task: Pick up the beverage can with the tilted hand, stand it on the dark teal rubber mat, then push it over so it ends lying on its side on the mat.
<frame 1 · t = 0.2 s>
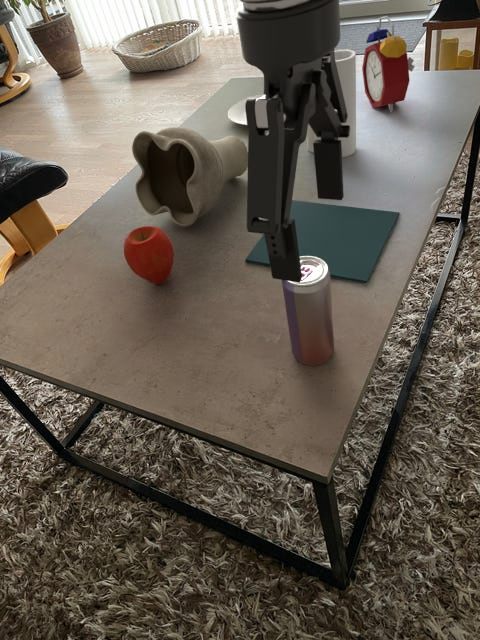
hand: (310, 234, 50), 24 cm above the table, tool pointing down, fingers open, 13 cm apart
plate: (267, 116, 131), on the table
beverage can: (313, 352, 70), on the table
alarm clock: (388, 104, 124), on the table
apple: (159, 281, 88), on the table
vase 2: (330, 151, 111), on the table
mat: (323, 238, 88), on the table
vase: (213, 199, 105), on the table
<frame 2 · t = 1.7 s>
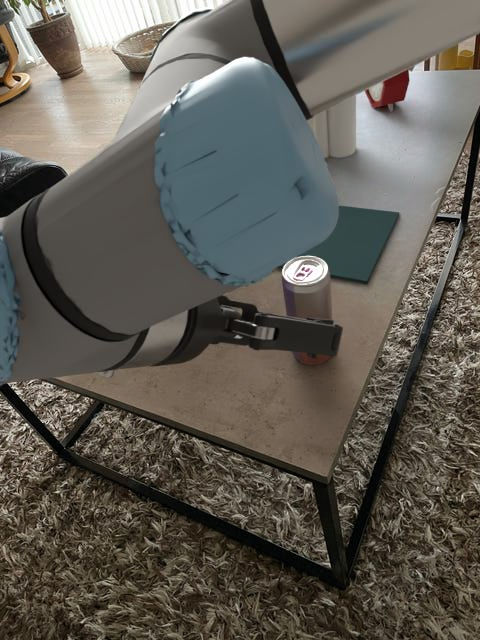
hand: (267, 318, 52), 17 cm above the table, tool tilted 45°, fingers open, 13 cm apart
nothing on the table moved.
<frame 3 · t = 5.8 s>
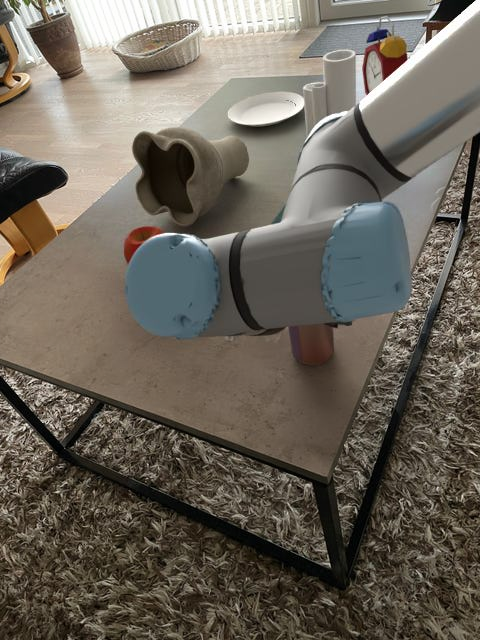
hand: (319, 307, 68), 5 cm above the table, tool tilted 45°, fingers closed on beverage can, 6 cm apart
beverage can: (313, 352, 70), on the table, touching gripper
everything else where it was.
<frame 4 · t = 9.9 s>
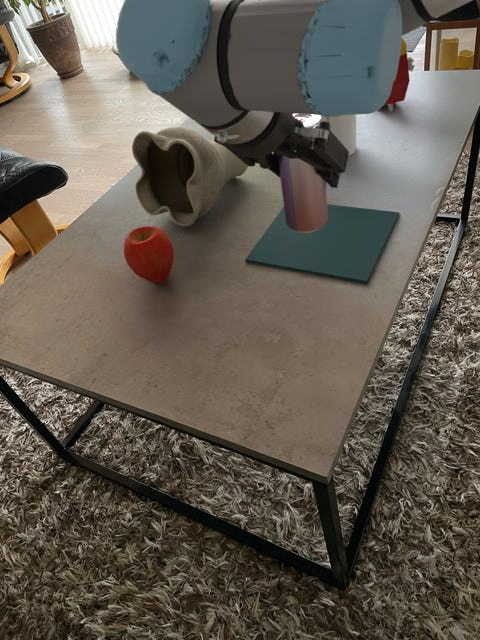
hand: (313, 176, 68), 18 cm above the table, tool tilted 45°, fingers closed on beverage can, 6 cm apart
beverage can: (307, 224, 70), point 13 cm above the table, touching gripper
everything else where it was.
when the fingers open (6 cm above the table, at t = 14.4 s): beverage can stays where it is, resting on mat.
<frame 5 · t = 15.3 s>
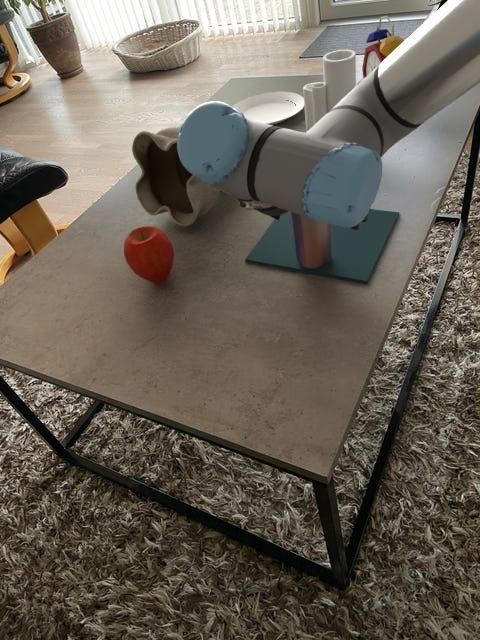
hand: (317, 216, 79), 8 cm above the table, tool tilted 45°, fingers open, 13 cm apart
beverage can: (314, 260, 83), resting on mat
everything else where it was.
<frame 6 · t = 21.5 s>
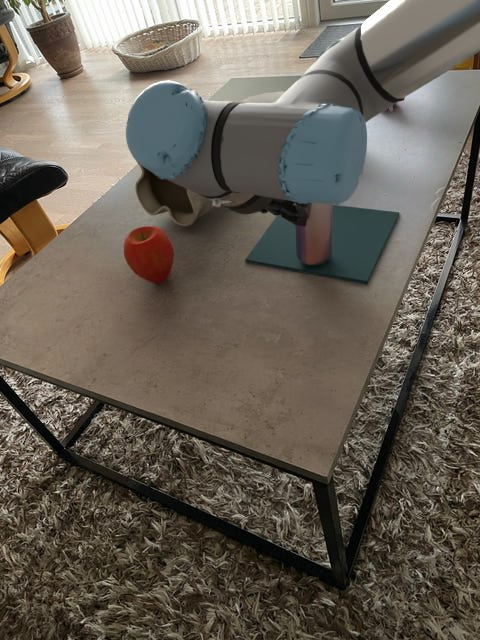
hand: (302, 217, 75), 11 cm above the table, tool tilted 45°, fingers closed
beverage can: (314, 258, 83), point 1 cm above the table, touching gripper, mat
everything else where it was.
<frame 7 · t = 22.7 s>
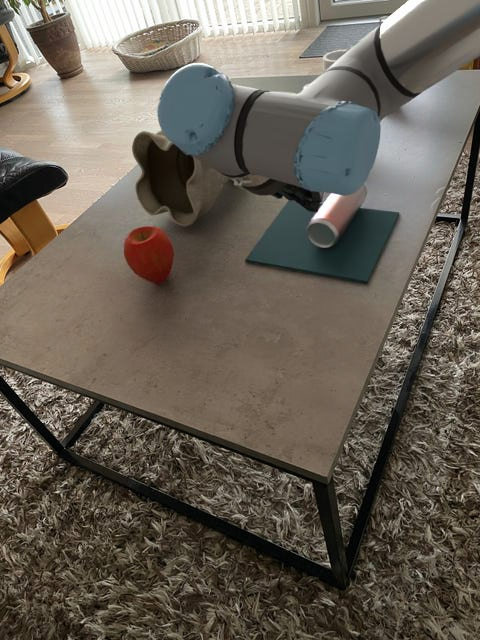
hand: (315, 203, 78), 10 cm above the table, tool tilted 45°, fingers closed
beverage can: (320, 236, 83), point 4 cm above the table, touching mat
everything else where it was.
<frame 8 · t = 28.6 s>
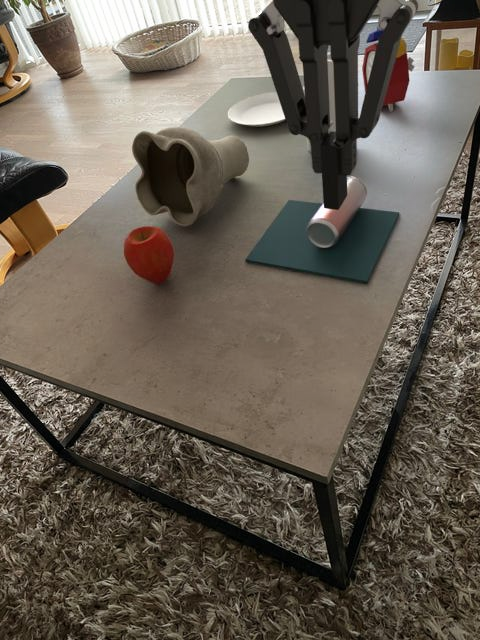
hand: (335, 201, 48), 26 cm above the table, tool pointing down, fingers closed
nothing on the table moved.
at the end: beverage can tilted 90°; beverage can inside the target area on the mat (4.4 cm from its centre), point 3.6 cm above the mat's base; the gripper is holding nothing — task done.
